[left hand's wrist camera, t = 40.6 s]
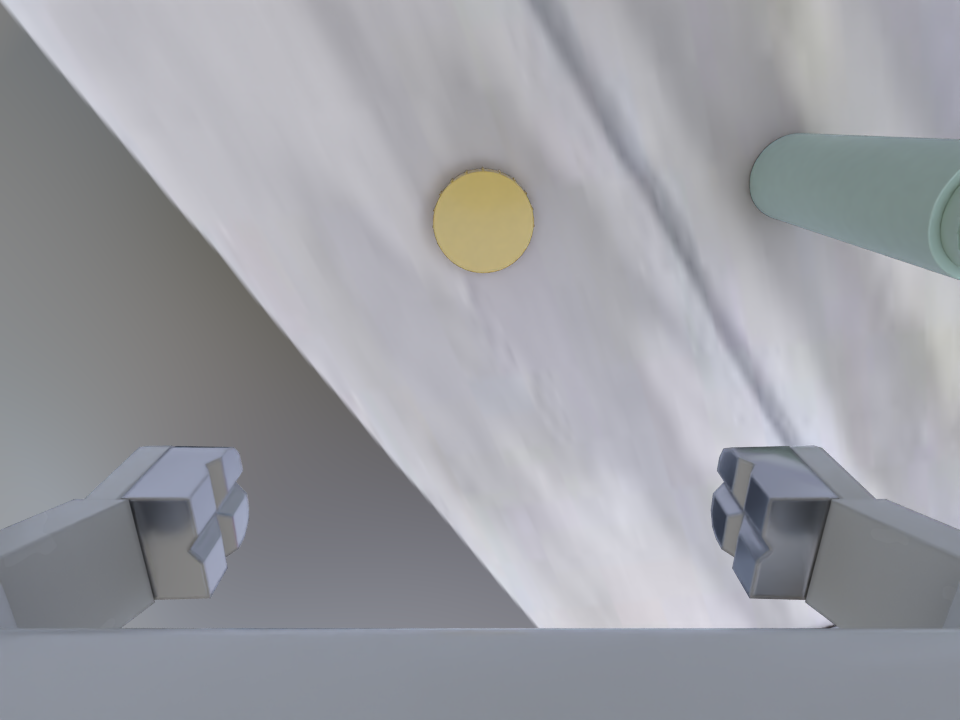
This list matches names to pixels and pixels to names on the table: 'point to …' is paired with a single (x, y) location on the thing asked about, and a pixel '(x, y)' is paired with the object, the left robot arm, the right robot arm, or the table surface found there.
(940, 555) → the left robot arm
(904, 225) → the jar
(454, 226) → the lid
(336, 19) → the table surface
